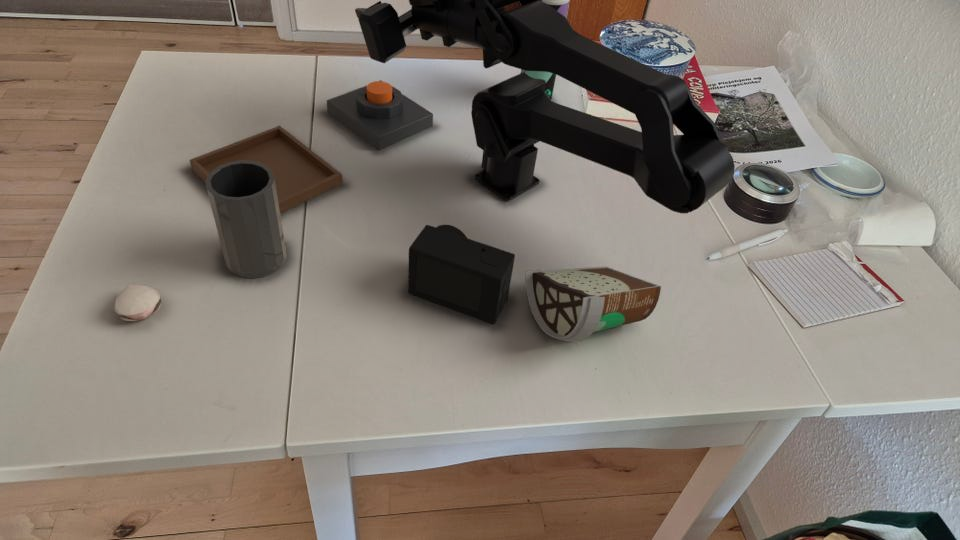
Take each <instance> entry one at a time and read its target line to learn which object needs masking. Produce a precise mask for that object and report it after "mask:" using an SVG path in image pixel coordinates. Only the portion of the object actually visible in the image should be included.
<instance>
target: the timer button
mask: <svg viewBox="0 0 960 540" xmlns="http://www.w3.org/2000/svg"><path fill="white" fill-rule="evenodd" d="M366 86H367V87H366V89H367V100H368V101H369V102H372V103H377V104H383V103H388V102H390V101H392V87H393V86H392V84H390V83H389V82H387V81H383V80H381V81H380V80H377V81H376V80H375V81H372V82H370V83H368V84H367V85H366Z"/></svg>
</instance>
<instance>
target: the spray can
mask: <svg viewBox="0 0 960 540" xmlns="http://www.w3.org/2000/svg"><path fill="white" fill-rule="evenodd" d="M542 2H544V3H546V4H548V5H549V6H550V7H552V8H553V9H555V10H556V11H558V12H559V13H560V14H562V15H563V16H565V17H566V19H567V20H568V14H569V7H570V2H571V0H542ZM523 72H525V73H526V74H527V75H528V76H530V77H532V78H535V79H543V80H545V81H546V84H545V90H544V91H545V92H546V94H547V95H548V97H549V98H550V100H551V101H553V95H554V90H555V85H556V79H557V75H556V74H553V73H550V72H543V71H526V70H522V69H520V73H523Z"/></svg>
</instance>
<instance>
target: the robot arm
mask: <svg viewBox="0 0 960 540" xmlns="http://www.w3.org/2000/svg"><path fill="white" fill-rule="evenodd" d="M408 3H409V5H410V6H411V8H410V9H409V10H408V11H406V12H404V13H403V14H400V15H399V14H398V11H397V10H396V9H395V7H394V6H393V5H392V4H391V3H388V2H382V1H381V0H379V1H377V2H375V3H373V4H372V5H370V6H368V7H357V8H355V9H354V11H355V15H356V17H357V18H358V19H357V20H358V23H359V27H360V29H361V33H362V36H363V39H364V42H365V46H366V49H367V52H368V55H369V58H370V59H371V60H373V61H375V62H379V63H382V64H386V63H388V62H389V61H390V60H392V59H394V58H395V57H397V56H398V55H401V53H404V52H405V49H406V48H407V44H406V39H405V38H406V37H407V36H409V35H411V34H412V33H415V31H417V30H419V35H420V38H421V40H423V41H427V42H428V41H429V40H430V39H432V38H434V37H435V36H436V37H439V38H441V40H442V44H443V46H444V47H447V48H450V47H453V45H455V44H456V43H459V44H464V45H467V46H471V47H475V48H478V49H482V65H483V68H484V69H489V68H491V67H494V66H496V65H499V64H501V63H502V64H504V65H505V66H508V67H511V68H516V69H518V70H521V69H522V70H526V71H543V72H550V73H553V74H556V76H558V77H560V78H562V79H564V80H566V81H568V82H571V83H573V84H574V85H576V86H578V87H580V88H582V89H584V90H586V91H588V92H590V93H592V94H594V95H596V96H598V97H600V98H602V99H603V100H606V101H608V102H610V103H612V104H614V105H615V106H618V107H619V108H622V109H624V110H626V111H627V112H630V113H631V114H633V115H635V118H636V121H637V122H638V125H639V127H640V129H641V131H639V130H636V129H635V128H630V127H627V126H625V125H622V124H619V123H617V122H613V121H610V120H607V119H604V118H601V117H598V116H595V115H592V114H589V113H586V112H585V111H584V112H583V111H581V110H578V109H574V108H573V107H569V106H565V105H563V104H560V103H557V102H554V101H553V100H552V101H551V100H550V98H549V97H548V95H547V94H546V92H545V91H544V90H545V84H546V81H545V80H543V79H535V78H532V77H530V76H528V75H527V74H526V73H525V72H523V73H521V72H520V73H518V74H517V75H513V76H512V77H509V78H507V79H504V80H502V81H500V82H498V83H496V84H494V85H491V86H490V87H487V88H485V89H483V90H480V91H478V92H477V93H476V94H475V95H474V96H473V99H472V102H471V112H470V113H471V114H470V115H471V121H472V126H473V132H474V136H475V143H476V146H477V147H478V148H479V149H481V150H482V157H481V169H482V170H481V171H479V172H477V173H475V174H474V177H473V178H474V179H473V180H475V181H476V182H477V183H479V184H481V185H482V186H484V187H486V188H487V189H488V190H489V191H491V192H493V193H494V194H496V195H497V196H499V198H501V199H503V200H504V201H506V202H510V201H512V200H513V199H515V198H517V197H519V196H520V195H523V194H524V193H525V192H528V191H529V190H531V189H533V188H534V187H536V186H537V185H539V184H540V179H539V178H538V177H537V176H535V175H534V174H535V169H536V162H537V158H538V152H539V148H538V147H537V146H535V144H537V143H540V142H541V143H544V144H546V145H549V146H552V147H554V148H556V149H559V150H561V151H564V152H566V153H569V154H572V155H575V156H577V157H579V158H582V159H585V160H587V161H590V162H593V163H595V164H597V165H600V166H603V167H606V168H608V169H610V170H614V171H615V172H619V173H621V174H624V175H626V176H629V177H631V178H632V179H633V180H634V181H635V182H636V183H637V185H638V186H639V188H640V189H641V190H642V192H643V193H644V195H645V196H646V197H647V198H649V199H651V200H653V201H654V202H656V203H658V204H659V205H661V206H662V207H664V208H666V209H668V210H670V211H672V212H674V213H678V214H683V215H685V214H689V213H691V212H694V211H695V210H698V209H700V208H701V207H702V206H703V205H704V204H705V203H707V202H708V201H709V200H711V199H712V198H713V197H714V196H716V195H717V194H718V193H719V192H720V191H722V190H724V188H725V187H727V186H728V185H729V184H730V183H731V182H732V180H733V177H734V175H735V163H734V162H735V161H734V158H733V157H734V156H732V154H731V152H730V151H729V147H728V145H726V144H725V143H724V141H723V139H722V137H721V135H720V132H719V129H718V127H717V125H716V124H715V123H716V122H715V121H714V120H713V119H712V118H711V117H710V116H709V115H708V114H707V113H706V112H705V111H704V110H703V109H702V108H701V107H700V106H699V104H698V103H697V102H696V100H695V99H694V96H693V94H692V92H691V90H690V87H689V86H688V84H687V83H686V81H685V80H684V79H683V78H682V77H680V76H678V75H674V74H667V73H664V72H663V71H660V70H657V69H656V68H653V67H651V66H649V65H647V64H645V63H642V62H641V61H638V60H637V59H634V58H632V57H629V56H627V55H625V54H623V53H621V52H618V51H617V50H615V49H613V48H611V47H608V46H605V45H603V44H601V43H599V42H597V41H595V40H592V39H590V38H588V37H586V36H584V35H582V34H580V33H579V32H577V31H576V30H575V29H573V26H572V25H571V23H570V22H569V20H568V18H567V19H566V17H565V16H563V15H562V14H560V13H559V12H558V11H556V10H555V9H553V8H552V7H550V6H549V5H548V4H546V3H544V2H542V0H408ZM516 3H519V4H520V6H518V7H514V8H512V9H509V10H507V9H506V7H509V6H511V5H513V4H516ZM674 127H676V129H678V131H680V133H682V134H674Z"/></svg>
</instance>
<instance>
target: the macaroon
mask: <svg viewBox="0 0 960 540" xmlns="http://www.w3.org/2000/svg"><path fill="white" fill-rule="evenodd" d="M161 304H162V299H161V295H160V293H159V292H158V291H157V290H156V289H154V288H152V287H150V286H147V285H142V284H141V285H140V284H133V283H129V284H126V285H125V286H124V288H123V289H122V290H121V291H120V293H119V294H118V295H117V296H116V299H115V302H114V306H113V308H114V312H115V314H116V315H117V317H118V318H119V319H121V320H123V321H127V322H137V321H140V320H145V319H147V318H148V317H150V316H153V315H154V314H155V313H157V312H158V310H159V309H160V308H161Z"/></svg>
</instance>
